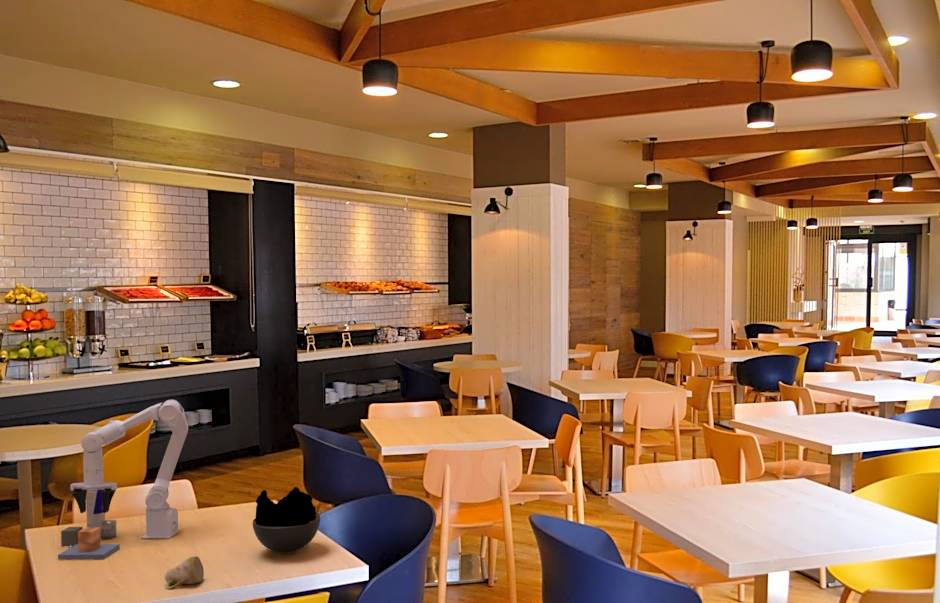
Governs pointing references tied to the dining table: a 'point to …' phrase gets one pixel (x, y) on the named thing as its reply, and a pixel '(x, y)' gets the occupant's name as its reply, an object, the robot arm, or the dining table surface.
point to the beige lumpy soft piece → (185, 573)
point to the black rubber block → (70, 536)
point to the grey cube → (108, 529)
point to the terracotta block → (89, 539)
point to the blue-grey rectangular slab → (99, 553)
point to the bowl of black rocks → (286, 521)
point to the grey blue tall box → (94, 508)
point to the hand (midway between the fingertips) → (94, 512)
